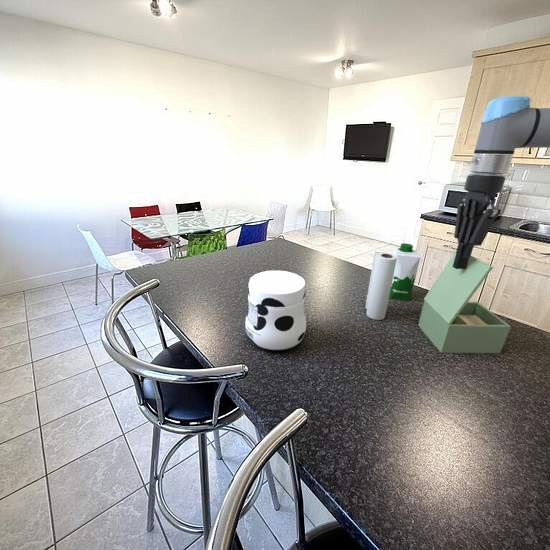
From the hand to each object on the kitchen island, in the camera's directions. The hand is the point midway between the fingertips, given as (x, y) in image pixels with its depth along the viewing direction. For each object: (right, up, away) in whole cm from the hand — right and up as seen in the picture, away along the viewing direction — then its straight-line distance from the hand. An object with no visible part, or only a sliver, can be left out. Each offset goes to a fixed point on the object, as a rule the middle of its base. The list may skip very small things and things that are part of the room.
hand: (459, 267), depth 77 cm
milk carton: (-3, -11, +33) cm, 34 cm away
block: (+8, -20, +9) cm, 23 cm away
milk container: (-49, -20, +8) cm, 53 cm away
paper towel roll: (-15, -15, +21) cm, 30 cm away
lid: (0, -5, +2) cm, 5 cm away
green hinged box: (+5, -21, +9) cm, 23 cm away
